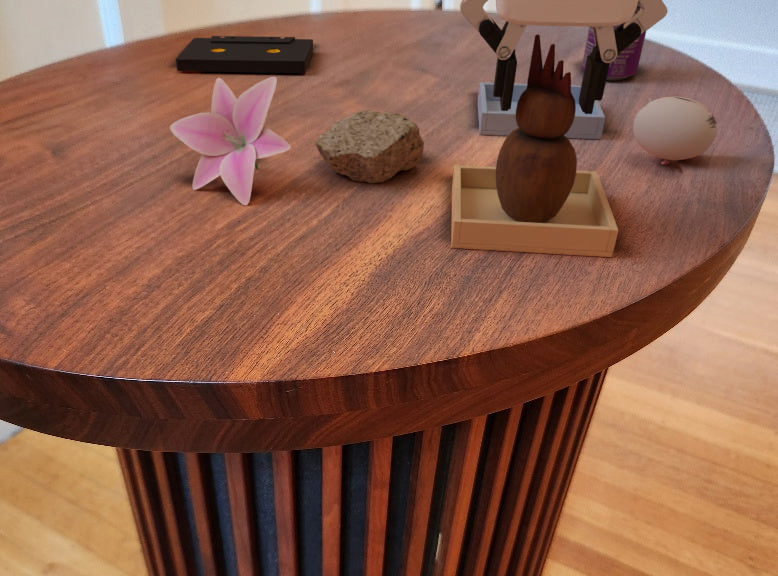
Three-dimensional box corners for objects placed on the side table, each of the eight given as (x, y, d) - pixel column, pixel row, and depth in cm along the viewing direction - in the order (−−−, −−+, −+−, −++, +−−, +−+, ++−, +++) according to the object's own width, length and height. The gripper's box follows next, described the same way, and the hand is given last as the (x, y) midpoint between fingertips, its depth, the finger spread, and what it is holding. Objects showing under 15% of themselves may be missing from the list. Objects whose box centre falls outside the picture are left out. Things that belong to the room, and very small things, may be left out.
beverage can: (641, 72, 105) (664, -26, 98) (627, 86, 100) (651, -16, 93) (588, 64, 108) (607, -31, 101) (573, 78, 103) (592, -21, 96)
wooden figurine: (479, 205, 71) (502, 32, 62) (533, 195, 73) (562, 25, 64) (520, 236, 66) (551, 53, 57) (577, 225, 68) (616, 45, 59)
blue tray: (587, 106, 94) (591, 85, 93) (600, 139, 85) (605, 117, 84) (477, 102, 96) (479, 82, 94) (479, 134, 87) (482, 112, 86)
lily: (172, 175, 81) (140, 111, 73) (261, 113, 83) (239, 43, 74) (235, 246, 77) (208, 186, 68) (328, 178, 78) (313, 111, 69)
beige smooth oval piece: (715, 165, 79) (735, 99, 75) (690, 183, 76) (711, 115, 72) (640, 146, 84) (656, 83, 79) (614, 162, 80) (629, 96, 76)
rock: (368, 117, 84) (405, 68, 77) (410, 182, 83) (451, 138, 76) (297, 142, 79) (330, 92, 72) (340, 211, 78) (378, 167, 71)
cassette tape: (313, 52, 115) (313, 37, 114) (304, 75, 106) (304, 59, 105) (195, 50, 117) (193, 35, 115) (176, 73, 108) (174, 57, 106)
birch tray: (591, 196, 74) (597, 171, 72) (612, 257, 64) (618, 230, 63) (451, 189, 75) (454, 164, 74) (451, 248, 66) (454, 221, 64)
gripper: (462, -154, 51) (438, 118, 62) (739, -156, 49) (663, 127, 59) (461, -160, 57) (439, 89, 68) (708, -162, 55) (644, 96, 65)
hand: (544, 105), depth 63 cm, fingers open, 5 cm apart
